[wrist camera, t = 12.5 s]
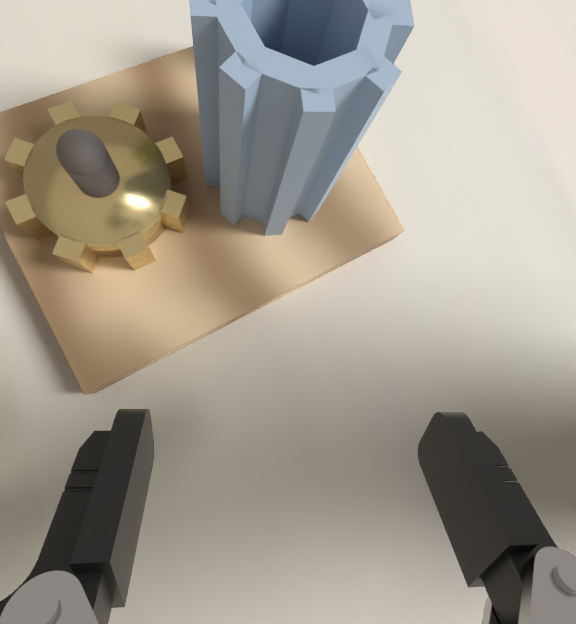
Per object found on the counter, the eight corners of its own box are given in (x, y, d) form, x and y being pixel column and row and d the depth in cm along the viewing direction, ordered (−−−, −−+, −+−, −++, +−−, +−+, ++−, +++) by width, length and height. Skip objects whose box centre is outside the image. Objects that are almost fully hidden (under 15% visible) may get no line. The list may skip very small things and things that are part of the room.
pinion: (290, 105, 22) (345, -111, 12) (345, 204, 21) (448, 64, 12) (184, 147, 20) (150, -58, 11) (241, 253, 20) (260, 142, 10)
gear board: (279, 37, 24) (299, -81, 18) (393, 239, 23) (455, 190, 17) (-30, 147, 20) (-143, 46, 14) (94, 392, 19) (34, 402, 13)
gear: (147, 104, 20) (140, 76, 19) (217, 232, 20) (216, 218, 18) (-3, 160, 19) (-29, 135, 17) (68, 300, 18) (50, 292, 16)
